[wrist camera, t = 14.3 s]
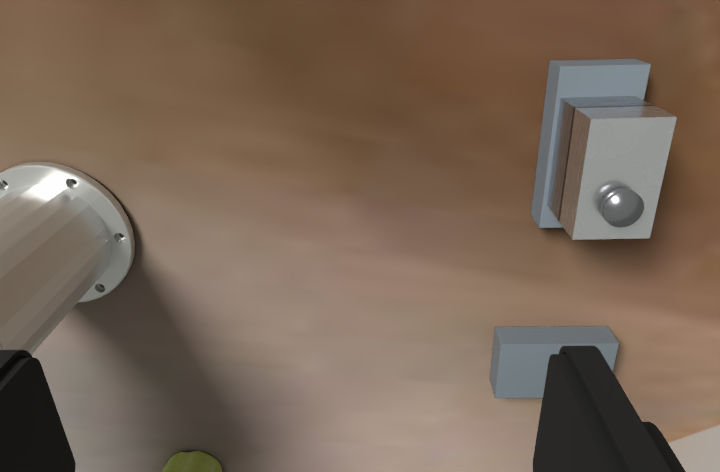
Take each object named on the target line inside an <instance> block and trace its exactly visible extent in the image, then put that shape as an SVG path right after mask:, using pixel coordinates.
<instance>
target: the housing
mask: <svg viewBox="0 0 720 472" xmlns="http://www.w3.org/2000/svg"><path fill="white" fill-rule="evenodd" d="M676 118H677V117H676V116H674V115H672V114H670V113H668V112H666V111H664V110H662V109H660V108H658V107H656V106H654V105H652V104H650V103H648V102H646V101H644V100H642V99H640V98H638V97H636V96H606V97H569V98H560V106H559V114H558V122H557V129H556V137H555V145H554V153H553V161H552V169H551V177H550V184H549V192H548V200H547V206H548V207H549V208H550V210H551V211H552V213H553V214H554V215H555V217H556V218H557V219H558V221H559V222H560V223H561V225H562V226H563V228H564V229H565V230H566V232H567V233H568V234H569V236H570V237H571V239H572V240H586V239H641V238H650V235H651V231H652V226H653V222H654V217H655V213H656V208H657V204H658V199H659V195H660V190H661V186H662V181H663V177H664V172H665V168H666V163H667V159H668V154H669V150H670V145H671V141H672V136H673V132H674V127H675V123H676Z"/></svg>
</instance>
